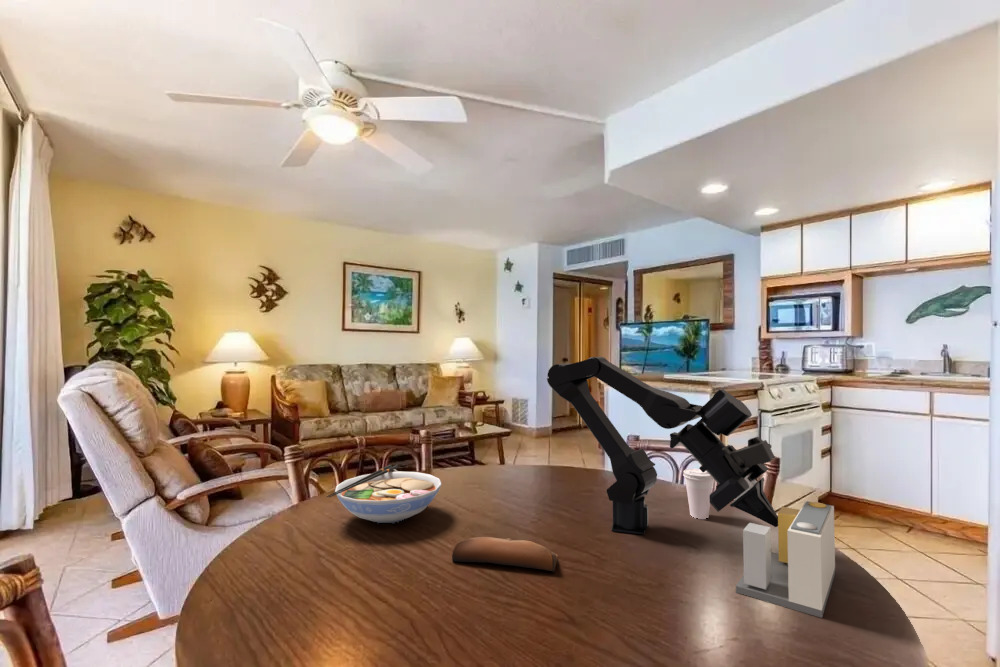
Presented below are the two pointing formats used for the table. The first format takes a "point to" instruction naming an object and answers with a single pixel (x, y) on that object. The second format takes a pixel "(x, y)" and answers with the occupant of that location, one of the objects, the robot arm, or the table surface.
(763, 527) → the light grey block
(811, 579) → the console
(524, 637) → the table surface
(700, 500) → the smoothie
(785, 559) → the amber block
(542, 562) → the sunglasses case
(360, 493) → the ramen bowl
